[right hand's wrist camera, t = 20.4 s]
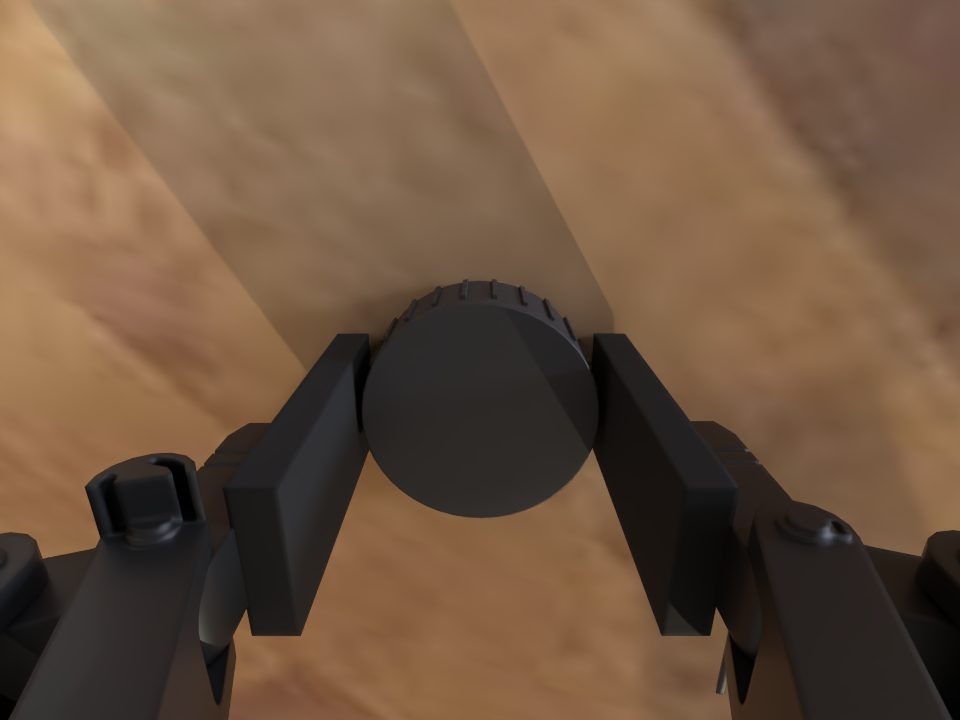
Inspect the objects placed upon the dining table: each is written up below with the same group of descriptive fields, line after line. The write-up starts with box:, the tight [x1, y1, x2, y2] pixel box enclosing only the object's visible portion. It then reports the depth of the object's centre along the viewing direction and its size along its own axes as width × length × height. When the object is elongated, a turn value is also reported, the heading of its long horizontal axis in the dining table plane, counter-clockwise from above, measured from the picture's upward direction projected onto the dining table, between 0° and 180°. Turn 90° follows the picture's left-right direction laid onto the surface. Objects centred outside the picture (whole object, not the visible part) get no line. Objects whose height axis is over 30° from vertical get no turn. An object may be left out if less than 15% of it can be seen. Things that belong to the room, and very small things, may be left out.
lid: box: [361, 279, 599, 518], centre depth 13 cm, size 5×5×2 cm
